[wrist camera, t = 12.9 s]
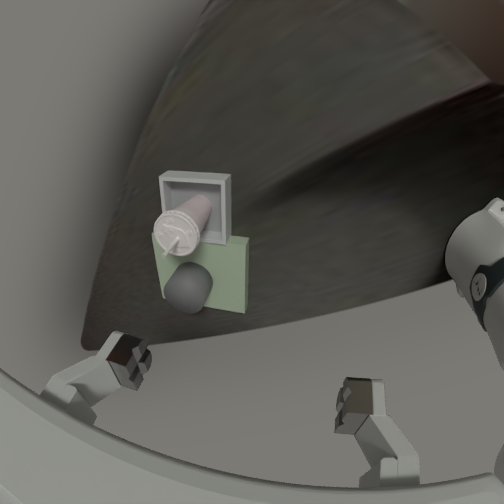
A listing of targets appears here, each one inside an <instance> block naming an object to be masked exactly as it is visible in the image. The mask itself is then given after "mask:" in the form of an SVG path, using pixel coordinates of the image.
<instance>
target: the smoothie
mask: <svg viewBox="0 0 504 504" xmlns="http://www.w3.org/2000/svg"><path fill="white" fill-rule="evenodd" d="M211 210H212V205H211V202H210V200H209V199H208V198H207V197H205V196H203V195H196V196H194V197H192V198H191V199H189V200H187V201H186V202H184V203H183V204H181V205H179V206H178V207H176V208H175V209H173V210H170V211H166V212H164V213H163V214H161V215H160V217H159V218H158V219H157V220H156V222H155V225H154V235H155V238H156V240H157V242H158V244H159V245H160V246H161V247H162V248H163V249H164V250H165V251H164V252H163V254H162V255H161V256H162V258H165V257H166V256H167V255H168V254H169V253H170V254H172V255H176V256H186V255H188V254H190V253H192V252H193V251H194V249H195V248H196V247H197V246H198V244H199V241H200V234H201V232H202V230H203V228H204V226H205V223H206V221H207V219H208V217H209V215H210V213H211Z"/></svg>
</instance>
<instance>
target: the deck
mask: <svg viewBox="0 0 504 504" xmlns="http://www.w3.org/2000/svg"><path fill="white" fill-rule="evenodd" d="M159 184H160V194H161V203H162V212H163V213H164V212H166V211H170V210H173V209H175V208H176V207H178V206H179V205H181V204H183V203H184V202H186V201H187V200H189V199H191V198H192V197H194V196H196V195H203V196H205V197H207V198H208V199H209V200H210V202H211V205H212V210H211V213H210V215H209V217H208V219H207V221H206V223H205V226H204V228H203V230H202V232H201V234H200V241H199V244H198V246H197V247H196V248H195V249H194V251H193V252H192V253H190V254H188V255H186V256H176V255H172V254H170V253H169V254H168V255H167V256H166V257H165V258H162V256H161V255H162V254H163V252H164V251H165V250H164V249H163V248H162V247H161V246H160V245H159V244H158V242H157V240H156V238H155V235H154V232H153V233H152V239H153V245H154V252H155V257H156V263H157V269H158V274H159V280H160V285H161V290H162V295H163V298H165V299H166V300H167V302H168V303H169V304H170V305H171V306H172V307H173V308H175V309H176V310H178V311H180V312H183V313H188V314H193V313H197V312H199V311H200V310H201V309H202V307H203V306H205V307H211V308H216V309H222V310H227V311H233V312H239V313H244V314H245V311H246V308H247V305H248V269H249V238H246V237H238V236H231V174H221V173H205V172H187V171H167V172H165V173H164V174H162V175H161V176H159Z"/></svg>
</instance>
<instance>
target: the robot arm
mask: <svg viewBox="0 0 504 504" xmlns="http://www.w3.org/2000/svg"><path fill="white" fill-rule="evenodd" d="M502 207H503V208H502ZM501 208H502V210H501ZM445 264H446V268H447V271H448V273H449V275H450V276H451V277H452V279H453V280H454V281H455V282H456V287H457V291H458V293H459V295H460V296H461V297H465V299H466V300H467V302H468V303H469V305H470V306H471V308H472V310H473V311H474V313H475V314H476V315H477V319H478V321H479V323H480V325H481V326H482V328H483V329H484V330H485V331H486V332H488V335H489V338H490V340H491V343H492V345H493V348H494V350H495V353H496V355H497V358H498V361H499V364H500V366H501V367H502V369H503V370H504V201H503V200H501V199H500V198H494V199H493V200H492V201H491V202H490V203H489V204H488V205H487V206H486V207H485V208H484V209H482V210H481V211H479V212H477V213H474V214H472V215H471V216H469V217H468V218H466V219H465V220H464V221H463V222H462V223H461V224H460V225H459V226H458V227H457V228H456V230H455V231H454V232H453V234H452V236H451V238H450V240H449V242H448V245H447V248H446V253H445ZM147 346H148V343H147V340H145V339H141V338H138V337H135V336H132V335H128V334H126V333H122V332H119V331H114V332H112V334H111V335H110V336H109V338H108V339H107V341H106V342H105V344H104V345H103V346H102V348H101V349H100V351H99V352H98V354H97V355H96V356H91V357H89V358H87V359H85V360H83V361H81V362H79V363H77V364H75V365H73V366H71V367H69V368H67V369H65V370H63V371H61V372H59V373H57V374H55V375H53V377H52V378H51V379H50V381H49V382H48V384H47V385H46V387H45V388H44V390H43V391H42V392H41V394H40V395H38V394H37V393H35V392H34V391H32V390H31V389H29V388H27V387H26V386H24V385H23V384H22V383H20V382H19V381H17V380H16V379H14V378H13V377H11V376H10V375H9V374H7V373H6V372H5V371H3V370H2V369H1V368H0V504H504V445H503V447H502V448H501V450H500V452H499V454H498V456H497V459H496V462H495V468H494V474H493V473H483V474H479V475H474V476H470V477H465V478H460V479H455V480H449V481H442V482H436V483H428V484H420V481H419V480H420V478H419V455H418V454H417V452H416V451H415V450H414V448H413V447H412V446H411V444H410V443H409V441H408V440H407V439H406V437H405V436H404V435H403V433H402V432H401V430H400V429H399V428H398V426H397V425H396V424H395V422H394V421H393V420H392V418H391V417H390V416H389V415H388V416H387V415H386V400H385V386H384V381H383V380H376V379H367V378H352V377H346V378H345V380H344V382H343V387H342V388H340V391H339V394H338V398H337V404H336V410H337V412H338V415H337V417H336V419H335V432H334V433H340V434H352V435H354V436H355V438H356V440H357V442H358V444H359V445H360V447H361V449H362V451H363V453H364V455H365V457H366V459H367V461H368V463H369V464H370V466H371V469H370V470H369V471H368V472H366V473H365V474H364V475H363V476H361V477H360V479H359V488H347V487H324V486H323V487H322V486H311V485H300V484H291V483H284V482H276V481H270V480H263V479H258V478H252V477H247V476H242V475H237V474H232V473H228V472H223V471H219V470H215V469H211V468H207V467H203V466H200V465H196V464H193V463H190V462H186V461H183V460H180V459H176V458H173V457H170V456H167V455H164V454H162V453H159V452H156V451H153V450H150V449H148V448H145V447H142V446H140V445H137V444H135V443H132V442H130V441H127V440H125V439H123V438H120V437H118V436H116V435H113V434H111V433H109V432H107V431H105V430H102V429H100V428H98V427H96V426H94V425H93V424H94V422H95V420H96V418H97V416H96V414H95V413H94V411H93V410H92V409H91V407H92V406H93V405H95V404H96V403H97V402H99V401H100V400H102V399H103V398H105V397H106V396H108V395H109V394H111V393H112V392H114V391H115V390H117V389H118V388H119V387H121V386H124V387H127V388H130V389H133V390H136V391H137V390H138V388H139V387H140V385H141V383H142V381H143V374H144V373H146V372H147V371H148V370H149V368H150V366H151V362H152V355H151V352H150V351H149V350H148V349H147ZM120 385H121V386H120Z"/></svg>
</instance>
